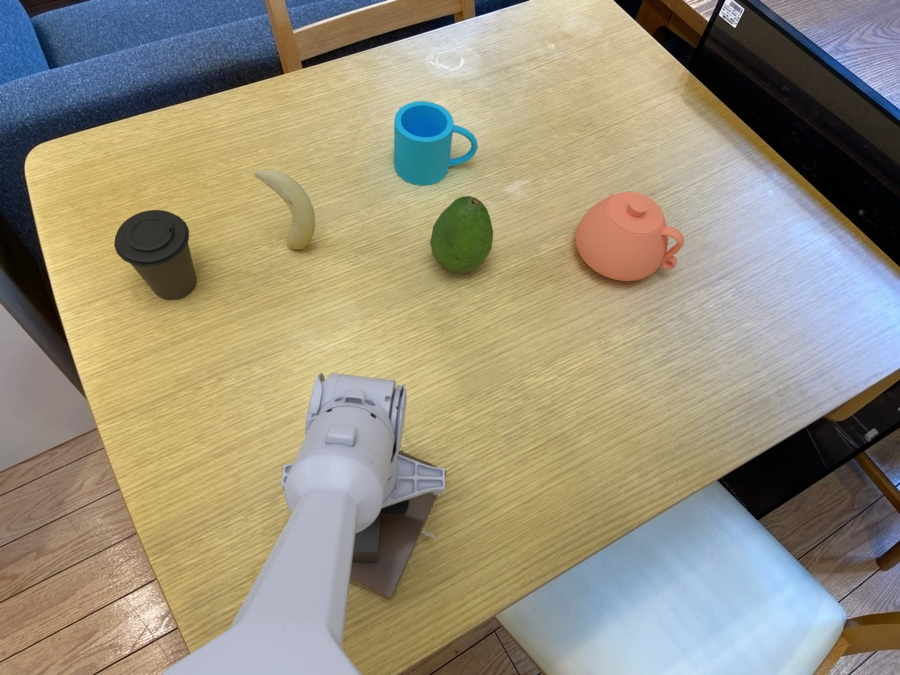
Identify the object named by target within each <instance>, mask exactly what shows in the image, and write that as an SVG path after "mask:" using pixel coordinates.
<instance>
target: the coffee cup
mask: <svg viewBox="0 0 900 675" xmlns="http://www.w3.org/2000/svg"><path fill="white" fill-rule="evenodd" d="M189 240H190V229H189V227H188V225H187V222H186V221H185V220H184V219H183V218H181V216H179V215H177V214H174V213H173V212H171V211H167V210H162V209H150V210H145V211H140V212H138V213H135V214H133V215H132V216H129V218H127V219H126V220H125V221H124V222H123V223H121V225H120V226H119V228H118V229H117V231H116V234H115V236H114V242H113V243H114V250H115V253H116V255H118V256H119V258H120V259H121V260H123V261H124V262H126V263H129V264H130V266H132V267H133V268H134V270H135V271H136V272H137V273H138V275H139V276H140V277H141V278H142V279H143V281H144V282H145V283H146V284H147V285H148V287H149V288H150V289H151V290H152V291H153V293H154V294H155V295H156V296H157V297H159V298H160V299H163V300H166V301H177V300H181V299H182V298H186V297H187V296H188V295H190V294H191V293H193V291H194V290H195V288H196V286H197V283H198V280H197V279H198V278H197V277H198V276H197V273H196V269H195V264H194V261H193V257H192V253H191V252H192V251H191V249H190V245H189Z"/></svg>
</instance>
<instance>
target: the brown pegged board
mask: <svg viewBox="0 0 900 675" xmlns="http://www.w3.org/2000/svg"><path fill="white" fill-rule="evenodd" d="M398 454H399V455H401V456H404V457H407V458H409V459H412V460H415V461H417V462H420V463H422V464H425V465H428V466H432V467H438V466H437V465H435V464H432V463H431V462H428V461H426V460H423V459H421V458H418V457H417V456H414V455H412V454H409V453H407V452H405V451H402V450H401V449H400V450H399V453H398ZM447 471H448V470H446V469H445V477H446V476H447ZM437 497H438V495H433V494H432V492H430V493H426V494H422V495H419V496H417V497H414V498H411V499H409V507H408V510H407V512H406V513H405V515H401V516H384V515H382V516H381V534H380V552H379V563H366V562H352V567H351V576H350V584H352V585H355V586H357V587H359V588H361V589H363V590H365V591H368V592H370V593H372V594H374V595H375V596H377V597H378V596H379V597H380V598H382V599H384V600H386V601H388V602H391V601H392V599H393V598H394V595H395V593H396V590H397V588H398V586H399V584H400V581H401V580H402V577H403V574H404V572H405V570H406V568H407V565H408V564H409V561H410V559H411V556H412V553H413V552H414V550H415V547H416V545H417V542H418V540H419V538H420V536H421V535H424V536H426V537H428V538H430V539H432V540H435V538H436V535H435V534H433V533H431V532H428V531H426V530H424V526H425V524H426V522H427V519H428V518H429V515H430V513H431V510H432V509H433V506H434V504H435V501H436V500H437Z"/></svg>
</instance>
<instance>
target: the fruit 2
mask: <svg viewBox="0 0 900 675" xmlns="http://www.w3.org/2000/svg"><path fill="white" fill-rule="evenodd" d="M493 228H494V227H493V224H492V220H491V216H490V214H489V211H488V209H487V207H486V206H485V205H484V203H483V202H482V201H481V200H479V199H478V198H476V197H474V196H471V195H464V196H460V197H458V198H456V199H454V201H452V202H451V204H449V205H448V206H447V207H446V208H444V210H443V211H442V212H441V213H440V214H439V216H438V218H437V219H436V220H435V223H434V224H433V226H432V230H431V236H430V241H429V244H430V248H431V253H432V257H433V258H434V260H435V262H436V263H437V264H438V265H439V266H441V268H444V269H446V270H447V271H448V270H449V271H450V272H453V273H454V274H466V273H470V272H473V271H474V270H477V268H479V267H480V266H481V265H482V264H483V263H484V261H485V260H486V258H487V257H488V256H489V254H490V252H491V250H492V247H493V240H494V229H493Z"/></svg>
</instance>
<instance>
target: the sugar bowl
mask: <svg viewBox="0 0 900 675" xmlns="http://www.w3.org/2000/svg"><path fill="white" fill-rule="evenodd" d="M669 237H670V238H671V239H674V240H675V241H676V244H674V245H673V246H672V247H671V248H669V249H668V244H669ZM574 239H575V247H576V249H577V252H578V254H579V255H580V258H582V260H583V261H584V263H585V264H586V265H587V266H588V267H590V268H591V269H592V270H593V271H594V272H596V273H597V274H598V275H599V274H600V275H601V276H603V277H606V278H608V279H612V280H614V281H623V282H631V281H639V280H642V279H645V278H647V277H649V276H650V275H653V273H655V272H656V271H657V270H658V269H659V268H660V266H661V267H662V268H663V269H665V270H672V269H673V268H675V267H676V266H677V265H678V264H677V263H678V259H677V257H676V254H677V253H679V251H680V250H681V249H682V248H683V246H684V244H685V237H684V235H683V233H682V232H681V231H680V230H679V229H677V228H675V227H672V226H669V225H667V221H666V218H665V215H664V213H663V211H662V209H661V207H660V206H659V204H658V203H657V202H656V201H655V200H653V199H652V198H650V197H649V196H647V195H645V194H643V193H640V192H635V191H622V192H617V193H614V194H612V195H610V196H607V197H604V198H603V199H601V200H600V201H597V202H596V203H595V204H594V205H592V206H591V207H590V208H589V209H588V210H587V211H586V212H585V214H584V215H583V216H582V217H581V219H580V221H579V223H578V225H577V227H576V230H575V237H574ZM667 249H668V250H667Z"/></svg>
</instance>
